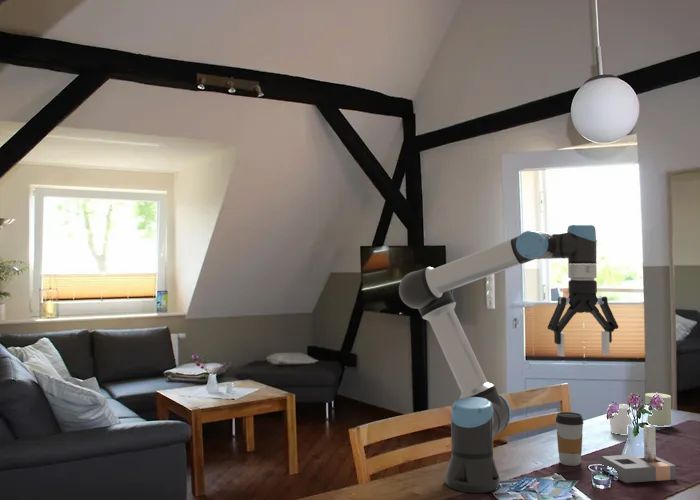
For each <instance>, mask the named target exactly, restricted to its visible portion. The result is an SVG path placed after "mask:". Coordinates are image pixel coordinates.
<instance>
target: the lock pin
mask: <svg viewBox="0 0 700 500" xmlns="http://www.w3.org/2000/svg"><path fill="white" fill-rule="evenodd" d="M642 428H643V454H644V461H645V462H647V463H653V462H656V457H657V455H656V454H657V453H656V452H657V451H656V446H657V445H656V442H657V441H656V428H655V426H653V425H646V424H644V425H643V427H642Z"/></svg>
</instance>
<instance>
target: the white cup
mask: <svg viewBox="0 0 700 500" xmlns="http://www.w3.org/2000/svg"><path fill="white" fill-rule="evenodd" d="M612 404H613V403H611V404H608V407H609V406H611V405H612ZM618 404H619V411H618V415H617V414H615V415H614V418H613V419H610V418H609V425H610V433H611V432H613V433H617V434H627V425H628V424H631V425H632V423H633V422H632V421H631V419H630V418H629V417H628V416H627V409H628V408H629V405H630V404H625V403H618Z"/></svg>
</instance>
